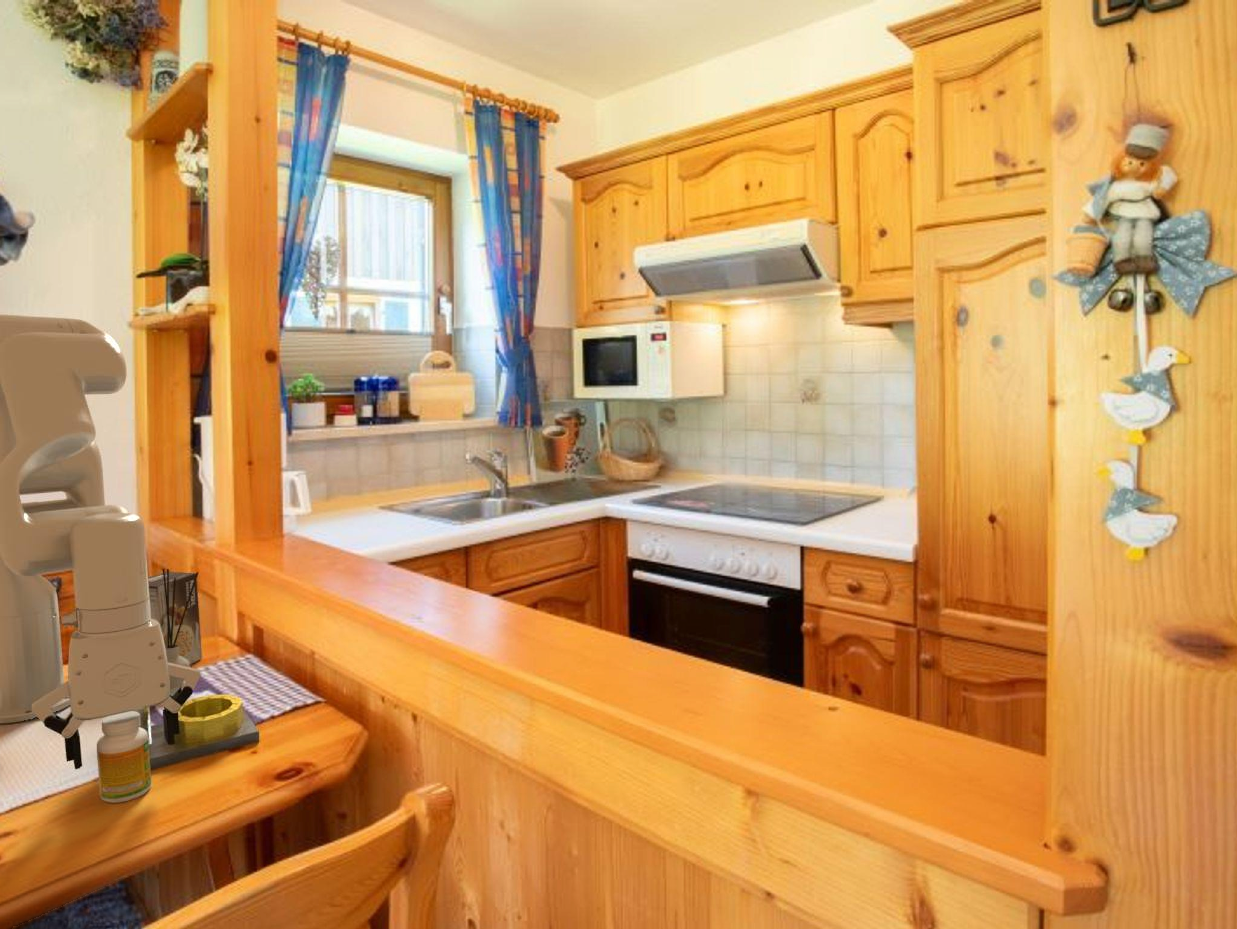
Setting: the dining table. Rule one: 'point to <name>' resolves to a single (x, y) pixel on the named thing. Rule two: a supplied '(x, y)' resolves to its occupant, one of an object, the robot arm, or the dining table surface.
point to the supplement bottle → (123, 758)
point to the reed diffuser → (173, 650)
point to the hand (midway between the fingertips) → (125, 752)
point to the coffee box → (178, 612)
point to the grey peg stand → (200, 730)
